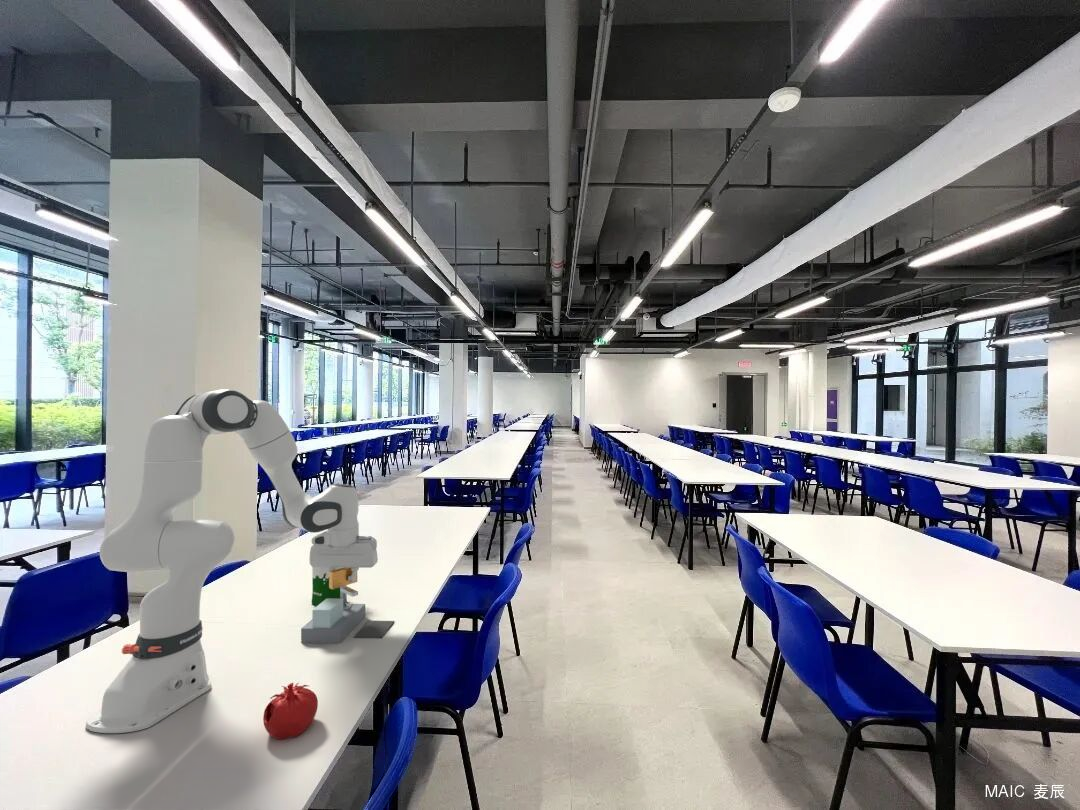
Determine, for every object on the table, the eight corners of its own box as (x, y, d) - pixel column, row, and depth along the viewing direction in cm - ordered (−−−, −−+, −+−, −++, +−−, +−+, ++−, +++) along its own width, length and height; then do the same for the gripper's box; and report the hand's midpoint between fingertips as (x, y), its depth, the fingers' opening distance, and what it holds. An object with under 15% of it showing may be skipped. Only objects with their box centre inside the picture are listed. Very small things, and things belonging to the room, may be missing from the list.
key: (367, 608, 145) (367, 569, 145) (342, 617, 139) (342, 577, 139) (354, 601, 150) (354, 564, 150) (329, 609, 144) (329, 571, 144)
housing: (339, 643, 132) (339, 627, 132) (301, 642, 133) (301, 627, 133) (365, 616, 149) (365, 602, 149) (331, 616, 150) (330, 602, 150)
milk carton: (347, 599, 163) (347, 541, 163) (324, 609, 155) (324, 548, 155) (330, 595, 167) (329, 538, 167) (306, 604, 159) (306, 544, 159)
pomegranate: (325, 712, 103) (326, 669, 103) (304, 745, 93) (305, 696, 93) (278, 713, 102) (279, 669, 102) (252, 745, 92) (253, 696, 92)
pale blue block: (330, 628, 133) (329, 610, 133) (312, 627, 133) (312, 609, 133) (343, 615, 141) (343, 598, 141) (326, 615, 141) (326, 598, 141)
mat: (381, 638, 135) (381, 636, 135) (354, 637, 136) (354, 636, 136) (394, 622, 145) (394, 620, 145) (368, 621, 146) (368, 620, 146)
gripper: (380, 533, 149) (381, 577, 149) (317, 533, 151) (317, 577, 151) (372, 539, 143) (373, 585, 143) (306, 538, 144) (306, 584, 144)
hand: (344, 581), depth 147 cm, fingers closed on key, 3 cm apart
